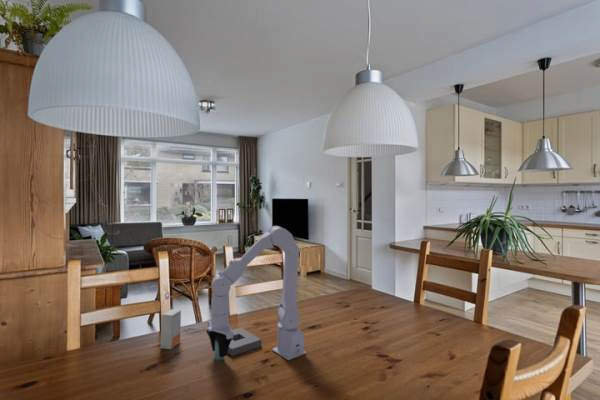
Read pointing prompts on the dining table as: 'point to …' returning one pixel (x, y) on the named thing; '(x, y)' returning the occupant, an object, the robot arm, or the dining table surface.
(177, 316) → the skincare box
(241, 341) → the peg block
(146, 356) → the dining table surface
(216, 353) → the peg
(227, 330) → the robot arm
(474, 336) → the dining table surface
